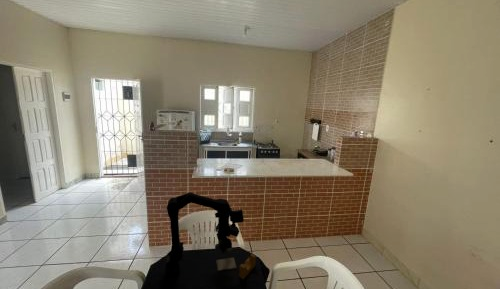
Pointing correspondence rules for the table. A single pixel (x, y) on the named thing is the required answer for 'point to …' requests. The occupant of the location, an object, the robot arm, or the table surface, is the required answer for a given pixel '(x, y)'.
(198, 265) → the table surface
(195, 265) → the table surface
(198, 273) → the table surface
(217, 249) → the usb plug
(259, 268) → the table surface
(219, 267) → the trivet
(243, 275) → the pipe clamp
